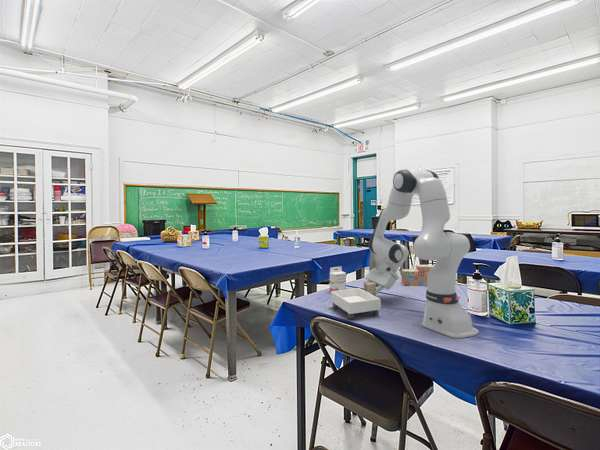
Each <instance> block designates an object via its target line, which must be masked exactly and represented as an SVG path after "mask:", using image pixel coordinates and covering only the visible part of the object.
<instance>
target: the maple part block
mask: <svg viewBox="0 0 600 450" xmlns="http://www.w3.org/2000/svg"><path fill="white" fill-rule="evenodd" d="M375 289H377V285H376V283H374V282H367V281H364V282H363V290H364V291H366V292H368V293H370V294H372V295H374V296H376V297H377V294H376V293H375V292H374V290H375Z"/></svg>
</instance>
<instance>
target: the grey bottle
mask: <svg viewBox="0 0 600 450" xmlns="http://www.w3.org/2000/svg"><path fill="white" fill-rule="evenodd" d="M369 254H370V255H369V259H368V260H369V261H368V270H369V272H370V271H371V270H372V269H374V268H376V267H379V266H380V264H381V263H382V262H383V261H384V260H385V259H386V258H384V257H382V256H380V255H378V254H375V253H373V252H371V251H370V253H369ZM369 272H368V273H369Z"/></svg>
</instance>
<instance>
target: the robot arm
mask: <svg viewBox="0 0 600 450" xmlns="http://www.w3.org/2000/svg"><path fill="white" fill-rule="evenodd" d="M390 189H391V190H390V193H389V195H388V200H387V204H386V206H385V208H383V209H381V211H380V213H379V216H378V217H377V220H376V223H375V226H374V229H373V232H372V235H371V237H370V239H369V240H368V249H369V251H370V253H371V252H373V253H375V254H378V255H380V256H382V257H384V258H386V259H385V260H384V261H383V262H382V263H381V264H380V266H379V267H376V268H374V269H372V270H371V271H370V272H367V274H366V275H365V278H364V279H366V282H374V283H376V286H378V287H376V289H375V290H374V292H375V293H376V295H377V294H379V292H381V291H382V290H384V289H385V290H386V291H387V290H388V291H389V290H390V289H391V288H393V286H394V285H395V284H396V282H397V280H399V279H400V276H399V275H398V273H397V272H398V269H399V268H400V267H401V266H403V264H404V263H405V261H406V259H407V258H408V256H409V253H410V251H409V249H408V248H407V246H405V245H404V244H401V243H397V242H394V241H393V240H390V239H388V238H386V237H385V236H384V235H385V232H386V229H387V225H388V224H389V222H390V221H398V220H402V219H404V218H406V217H407V216H408V215H409V213H410V210H411V206H412V201H413V197H414V195H415V194H417V196H418V198H419V205H420V211H421V218H422V226H421V230H420V233H419V235H418V236H417V237H416V238H415V240H414V242H413V245H412V247H413V252H414V254H415V256H416V257H417V258H418V260H422V261H435V263H434V264H433V265H434V266H433V267H432V268H431V269H430V270H429V272H428V275H427V286H426V288H427V289H426V291H425V298H426V302H425V307H424V311H423V312H424V314H423V318H422V322H421V326H422V327H424V328H426V329H429V330H432V331H434V332H437V333H440V334H442V335H445V336H447V337H450V338H455V339H459V338H460V339H462V338H469V337H474V336H476V335H478V334H479V332H480V330H478V329H477V328H476V327H474V326H473V322H472V318H471V316H470V314H469V313H468V311H466V310H465V308H464V307H463V306H462V305H461V304H460V302H459V301H460V300H459V299H461V296H458V294H457V292H456V279H457V278H456V277H457V272H458V269H459V266H460V265H461V262H462V261H463V258H464V257H465V256H466V255H468V254H469V251H470V249H471V244H470V240H469V238H468V237H467V236H466V235H464V234H461V233H456V232H447V233H445V232H444V230H445V225H446V224H447V223H448V222H449V221H450V219H451V212H450V207H449V202H448V198H447V194H446V190H445V187H444V185H443V182H442V180H440V179H439V175H438V174H437V173H436V172H434V171H432V170H423V169H418V168H417V169H415V168H414V169H413V168H411V169H401V170H397V172H395V173H394V174H393V179H392V186H391V188H390Z"/></svg>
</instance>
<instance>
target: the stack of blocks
mask: <svg viewBox="0 0 600 450" xmlns="http://www.w3.org/2000/svg"><path fill="white" fill-rule="evenodd" d="M434 265H435V264H416V266H415V268H414V269H413V268H412V269H411V268H410V269H409V268H408V269H407V268H404V269H401V284H402V286H404V287H405V286H406V287H407V286H408V287H427V275H428V272H429V270H430V269H431V268H432V267H433V266H434Z"/></svg>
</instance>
